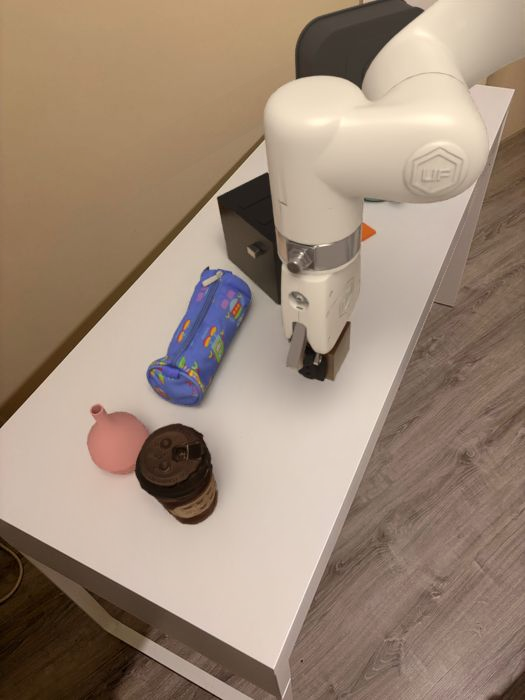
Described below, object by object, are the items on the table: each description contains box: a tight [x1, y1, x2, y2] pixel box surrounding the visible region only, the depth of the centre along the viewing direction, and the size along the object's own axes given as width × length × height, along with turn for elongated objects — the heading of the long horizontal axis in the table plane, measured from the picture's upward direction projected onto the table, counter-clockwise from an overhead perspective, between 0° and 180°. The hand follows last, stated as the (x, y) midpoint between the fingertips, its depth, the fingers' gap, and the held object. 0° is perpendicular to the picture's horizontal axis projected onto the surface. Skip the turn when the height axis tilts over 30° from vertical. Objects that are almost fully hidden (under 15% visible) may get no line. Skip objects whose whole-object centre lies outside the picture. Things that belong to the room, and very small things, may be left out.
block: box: [306, 320, 352, 382], centre depth 56 cm, size 5×5×5 cm
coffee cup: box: [134, 422, 219, 526], centre depth 57 cm, size 9×8×13 cm
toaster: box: [216, 171, 283, 306], centre depth 81 cm, size 11×15×13 cm
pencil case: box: [145, 265, 253, 407], centre depth 73 cm, size 22×9×10 cm, turn 161°
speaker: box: [294, 0, 426, 90], centre depth 98 cm, size 25×9×25 cm, turn 114°
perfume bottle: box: [86, 403, 150, 475], centre depth 62 cm, size 8×8×12 cm
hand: (321, 356), depth 58 cm, fingers closed on block, 5 cm apart
